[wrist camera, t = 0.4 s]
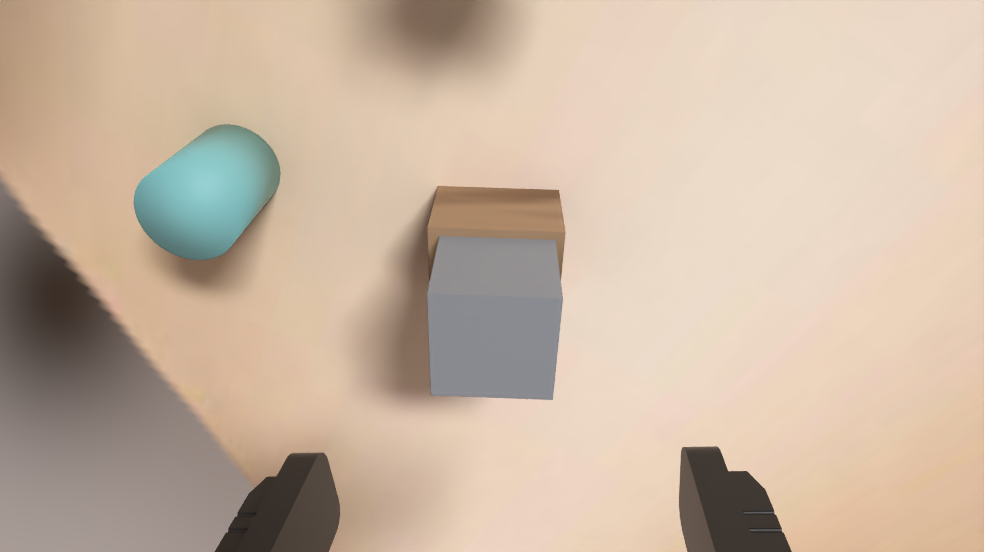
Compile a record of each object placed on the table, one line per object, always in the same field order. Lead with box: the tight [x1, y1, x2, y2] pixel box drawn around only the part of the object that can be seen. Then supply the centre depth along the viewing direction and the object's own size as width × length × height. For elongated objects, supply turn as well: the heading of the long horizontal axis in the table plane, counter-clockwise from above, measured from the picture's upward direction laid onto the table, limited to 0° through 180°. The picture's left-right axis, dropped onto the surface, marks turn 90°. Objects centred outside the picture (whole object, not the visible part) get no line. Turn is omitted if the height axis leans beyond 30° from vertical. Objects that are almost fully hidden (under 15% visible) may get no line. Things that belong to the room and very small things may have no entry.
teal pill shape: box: [134, 125, 280, 260], centre depth 30 cm, size 5×5×6 cm
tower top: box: [427, 236, 563, 400], centre depth 29 cm, size 6×6×5 cm
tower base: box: [427, 186, 565, 282], centre depth 33 cm, size 6×6×5 cm
